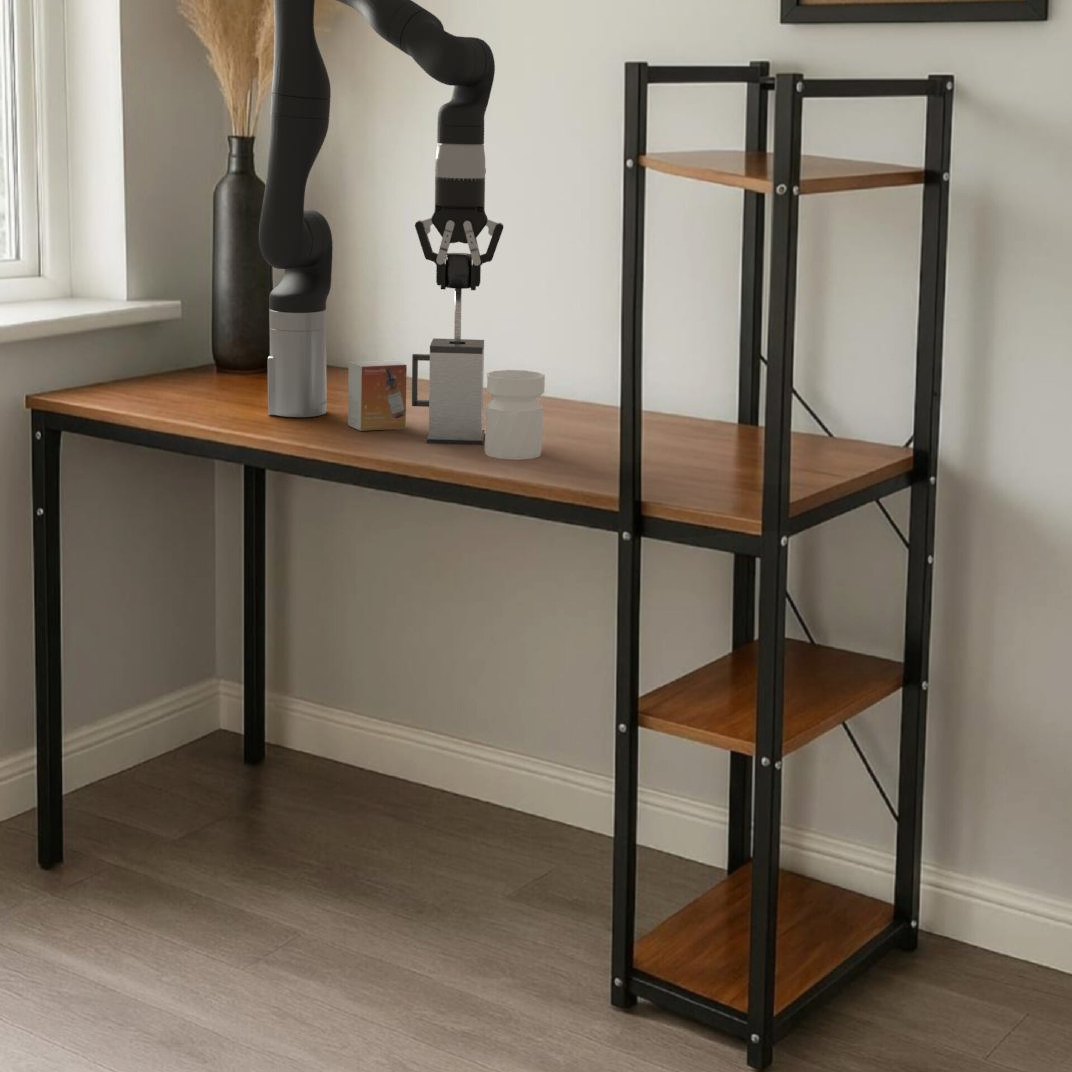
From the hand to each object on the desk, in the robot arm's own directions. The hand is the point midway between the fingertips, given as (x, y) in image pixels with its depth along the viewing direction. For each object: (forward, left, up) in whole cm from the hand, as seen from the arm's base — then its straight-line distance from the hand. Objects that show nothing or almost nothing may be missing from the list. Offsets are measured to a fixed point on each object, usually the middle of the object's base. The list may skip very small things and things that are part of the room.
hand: (458, 288), depth 257 cm
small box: (-13, +7, -24) cm, 28 cm away
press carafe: (-1, 0, -23) cm, 23 cm away
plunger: (0, 0, -16) cm, 16 cm away
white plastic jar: (+9, -10, -24) cm, 27 cm away
